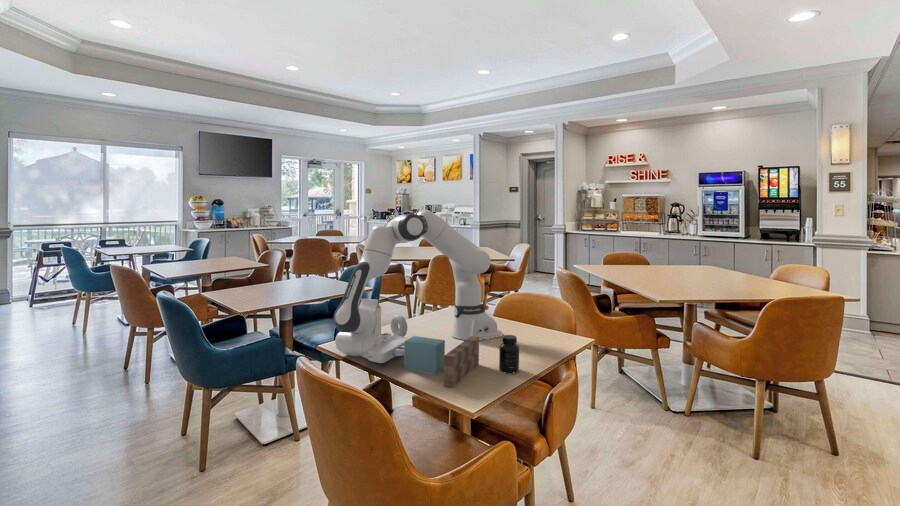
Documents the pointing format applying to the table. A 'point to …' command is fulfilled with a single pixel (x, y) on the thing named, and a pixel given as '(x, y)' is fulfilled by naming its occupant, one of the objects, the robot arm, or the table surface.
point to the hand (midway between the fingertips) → (409, 352)
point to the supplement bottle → (509, 354)
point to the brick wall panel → (461, 361)
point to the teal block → (424, 354)
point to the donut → (402, 324)
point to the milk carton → (376, 308)
